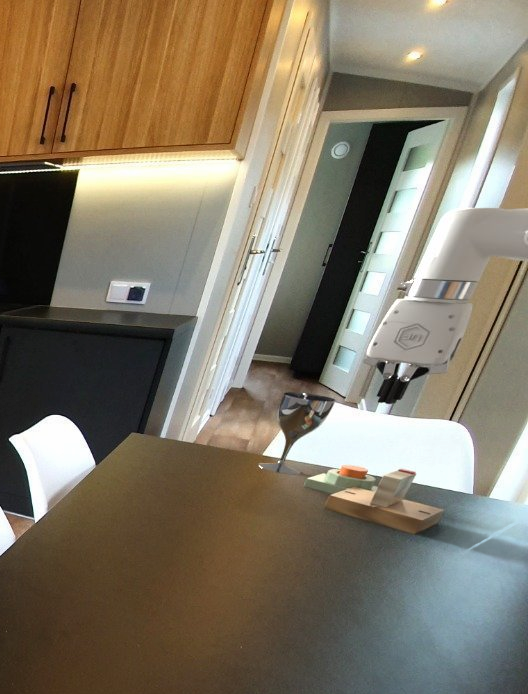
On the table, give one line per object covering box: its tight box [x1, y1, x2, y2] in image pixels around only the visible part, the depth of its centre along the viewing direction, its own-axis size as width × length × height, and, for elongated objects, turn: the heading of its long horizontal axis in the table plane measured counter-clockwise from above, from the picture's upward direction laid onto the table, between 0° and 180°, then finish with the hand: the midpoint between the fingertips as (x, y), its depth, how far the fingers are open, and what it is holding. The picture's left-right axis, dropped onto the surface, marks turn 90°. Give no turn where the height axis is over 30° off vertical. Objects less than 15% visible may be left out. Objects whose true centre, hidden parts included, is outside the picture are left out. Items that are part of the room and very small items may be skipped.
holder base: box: [323, 487, 445, 535], centre depth 108 cm, size 12×11×3 cm
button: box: [339, 464, 369, 479], centre depth 118 cm, size 4×4×2 cm
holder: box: [370, 468, 417, 507], centre depth 107 cm, size 7×2×5 cm, turn 120°
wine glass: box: [257, 391, 337, 475], centre depth 128 cm, size 8×8×15 cm
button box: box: [303, 468, 378, 495], centre depth 118 cm, size 10×7×4 cm
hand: (386, 402), depth 112 cm, fingers closed
